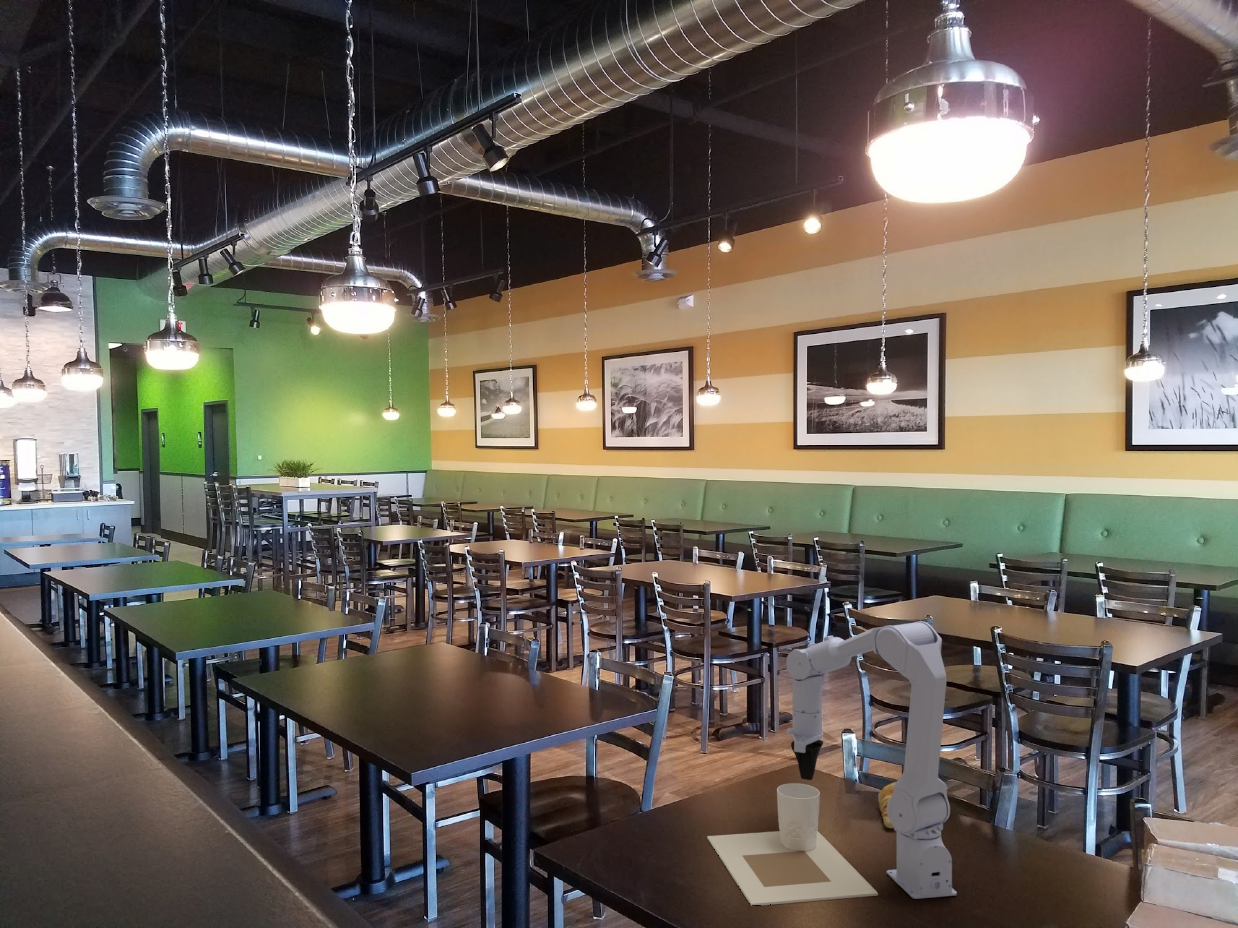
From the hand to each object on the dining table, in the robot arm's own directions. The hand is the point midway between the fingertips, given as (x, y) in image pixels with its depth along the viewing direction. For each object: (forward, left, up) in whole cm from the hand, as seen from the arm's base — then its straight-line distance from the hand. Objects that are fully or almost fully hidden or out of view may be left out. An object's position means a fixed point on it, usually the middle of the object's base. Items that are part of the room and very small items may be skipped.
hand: (807, 778), depth 168 cm
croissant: (+4, -22, -10) cm, 25 cm away
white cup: (-7, +5, -10) cm, 13 cm away
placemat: (-14, +10, -10) cm, 20 cm away
